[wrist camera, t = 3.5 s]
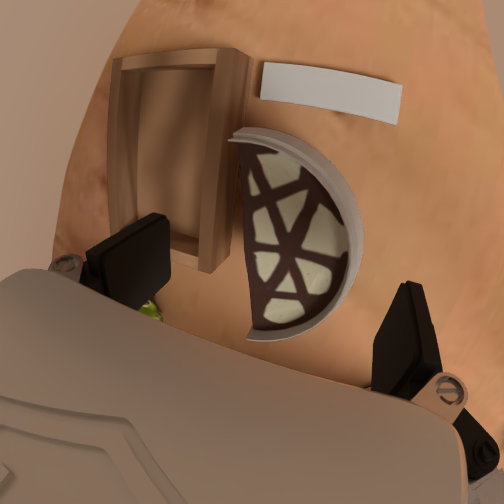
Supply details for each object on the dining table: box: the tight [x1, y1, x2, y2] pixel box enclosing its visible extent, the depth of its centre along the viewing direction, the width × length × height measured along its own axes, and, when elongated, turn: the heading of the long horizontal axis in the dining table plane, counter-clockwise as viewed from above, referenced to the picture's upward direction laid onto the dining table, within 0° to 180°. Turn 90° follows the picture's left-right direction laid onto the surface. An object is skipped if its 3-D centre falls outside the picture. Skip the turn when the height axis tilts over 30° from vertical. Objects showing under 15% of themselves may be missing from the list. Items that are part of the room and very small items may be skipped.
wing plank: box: [260, 62, 402, 125], centre depth 18 cm, size 10×3×2 cm, turn 83°
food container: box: [228, 127, 364, 342], centre depth 18 cm, size 12×6×10 cm, turn 4°
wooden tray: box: [107, 48, 253, 274], centre depth 23 cm, size 11×17×4 cm, turn 172°
